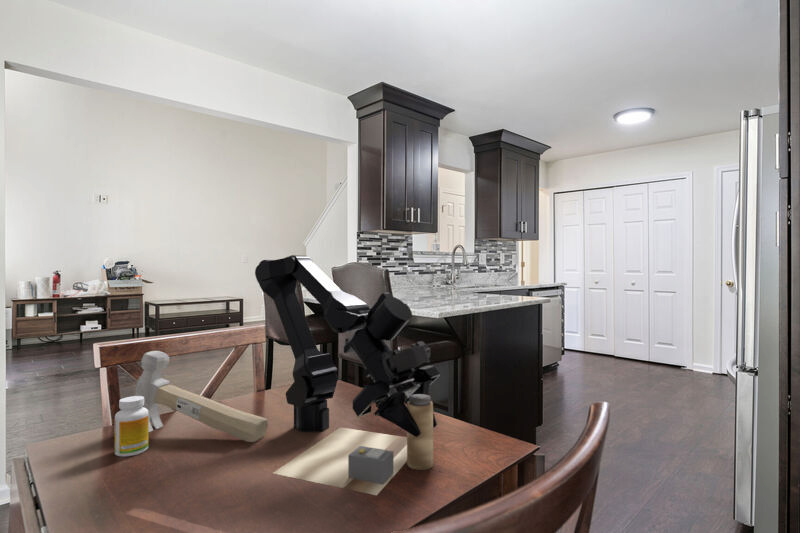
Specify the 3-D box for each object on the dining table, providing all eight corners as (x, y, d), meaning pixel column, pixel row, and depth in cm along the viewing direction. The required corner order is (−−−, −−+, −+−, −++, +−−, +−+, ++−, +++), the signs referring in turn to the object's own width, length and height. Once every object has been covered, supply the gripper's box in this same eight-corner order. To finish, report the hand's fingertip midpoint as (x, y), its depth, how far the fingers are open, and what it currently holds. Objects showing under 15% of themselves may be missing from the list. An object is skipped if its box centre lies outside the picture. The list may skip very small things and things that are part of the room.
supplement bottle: (155, 448, 83) (155, 396, 83) (126, 459, 78) (127, 404, 78) (136, 443, 85) (136, 393, 85) (107, 454, 80) (107, 400, 80)
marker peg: (403, 471, 73) (402, 399, 73) (412, 461, 77) (412, 392, 77) (428, 476, 71) (427, 402, 71) (436, 465, 75) (436, 395, 75)
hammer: (275, 390, 87) (157, 348, 95) (261, 397, 82) (139, 352, 91) (260, 466, 88) (144, 418, 96) (245, 477, 83) (125, 425, 92)
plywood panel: (272, 478, 71) (272, 473, 71) (340, 431, 91) (340, 427, 91) (376, 500, 64) (376, 495, 64) (425, 444, 84) (425, 440, 84)
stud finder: (348, 477, 69) (348, 453, 69) (360, 466, 73) (360, 444, 73) (383, 484, 67) (383, 459, 67) (393, 473, 71) (393, 449, 71)
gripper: (365, 334, 69) (423, 419, 62) (431, 322, 84) (484, 390, 77) (330, 376, 74) (380, 460, 67) (399, 358, 89) (445, 425, 82)
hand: (427, 431), depth 73 cm, fingers closed on marker peg, 4 cm apart
